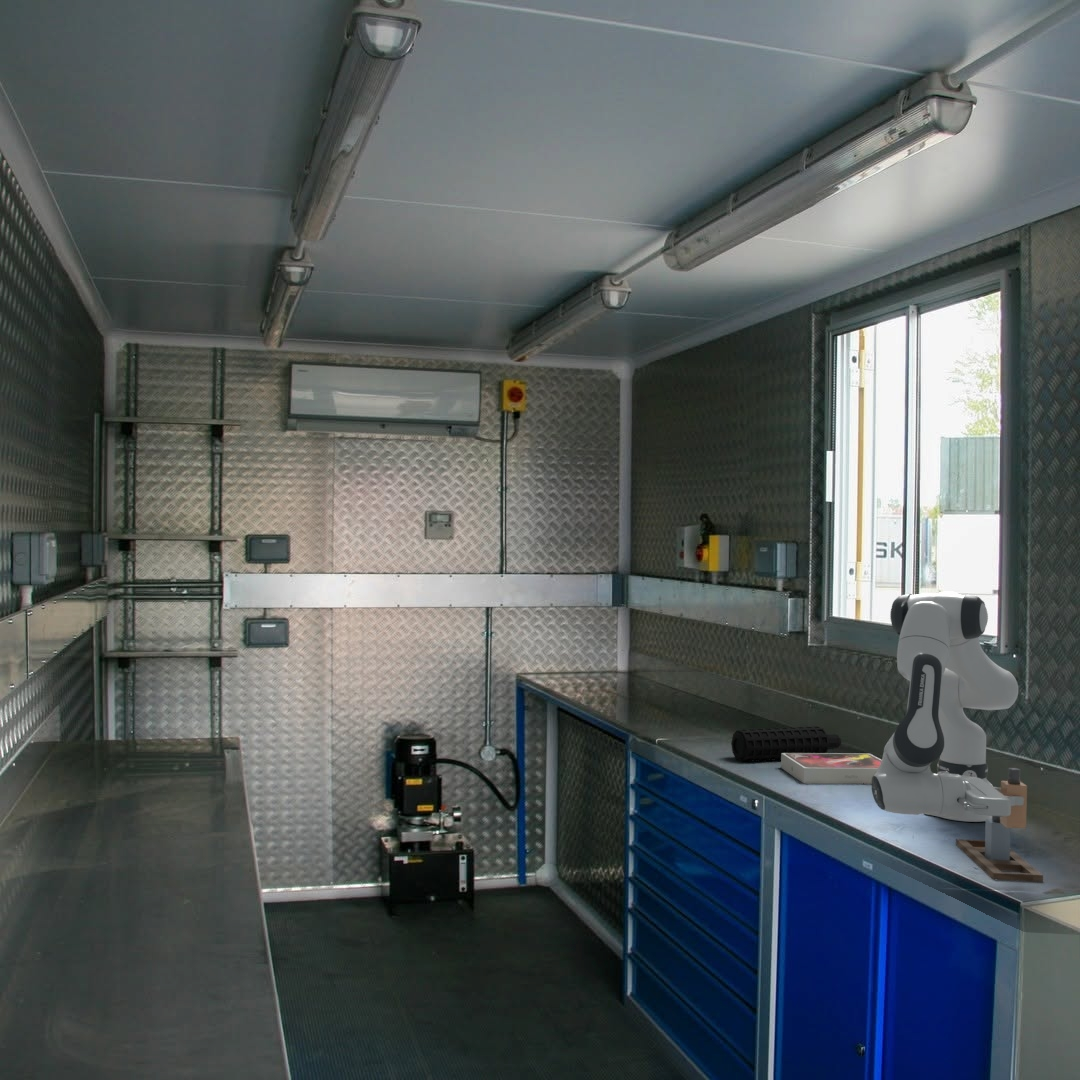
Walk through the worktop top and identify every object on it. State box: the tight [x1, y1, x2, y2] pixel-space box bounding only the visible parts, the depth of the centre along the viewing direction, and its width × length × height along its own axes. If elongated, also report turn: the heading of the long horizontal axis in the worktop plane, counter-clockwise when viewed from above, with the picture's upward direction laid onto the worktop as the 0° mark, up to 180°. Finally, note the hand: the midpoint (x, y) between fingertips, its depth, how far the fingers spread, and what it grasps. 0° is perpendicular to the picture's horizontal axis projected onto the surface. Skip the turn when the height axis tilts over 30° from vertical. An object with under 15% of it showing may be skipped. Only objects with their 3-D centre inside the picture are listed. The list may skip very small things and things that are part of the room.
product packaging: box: [780, 752, 882, 785], centre depth 328 cm, size 22×28×5 cm
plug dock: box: [955, 838, 1044, 883], centre depth 241 cm, size 26×10×2 cm, turn 176°
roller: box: [730, 726, 842, 763], centre depth 353 cm, size 38×10×10 cm, turn 110°
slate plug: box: [984, 816, 1011, 861], centre depth 241 cm, size 4×4×12 cm
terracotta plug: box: [1000, 767, 1028, 829], centre depth 232 cm, size 4×4×12 cm
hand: (1017, 797), depth 232 cm, fingers closed on terracotta plug, 4 cm apart
